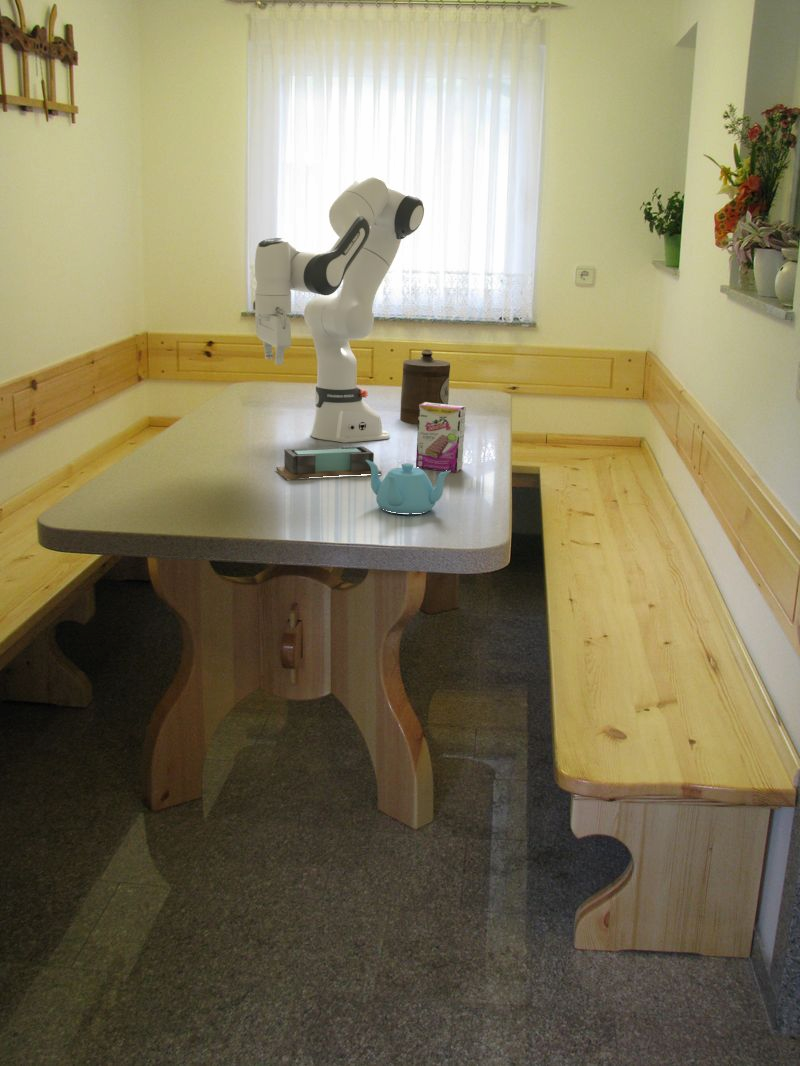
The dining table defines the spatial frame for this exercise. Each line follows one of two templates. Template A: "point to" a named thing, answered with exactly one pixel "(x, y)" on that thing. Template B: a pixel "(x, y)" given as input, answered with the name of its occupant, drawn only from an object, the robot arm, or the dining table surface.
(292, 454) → the sharpening stone holder
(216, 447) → the dining table surface
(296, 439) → the dining table surface
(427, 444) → the candy bar box
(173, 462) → the dining table surface
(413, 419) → the wooden container
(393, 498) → the teapot
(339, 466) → the slat
